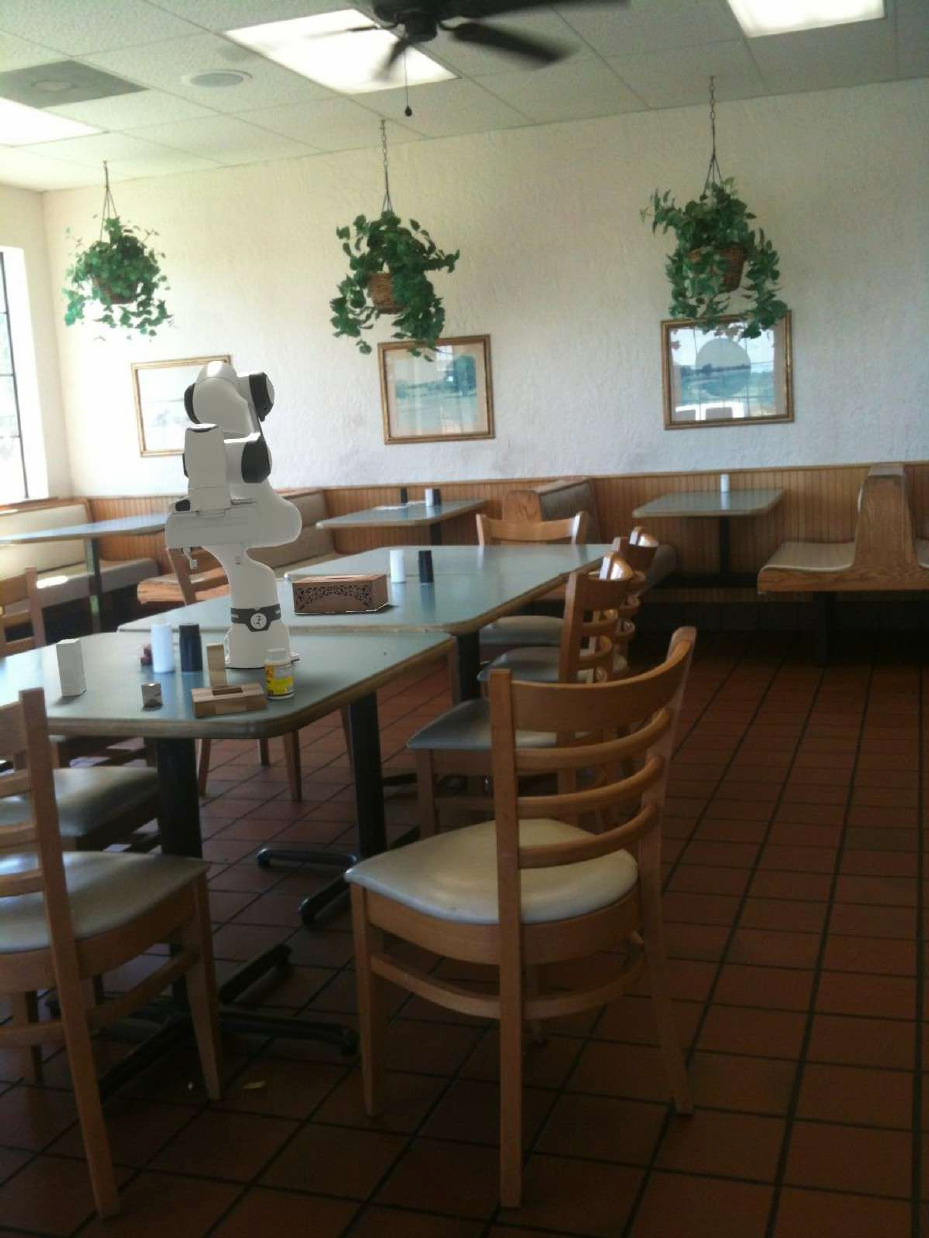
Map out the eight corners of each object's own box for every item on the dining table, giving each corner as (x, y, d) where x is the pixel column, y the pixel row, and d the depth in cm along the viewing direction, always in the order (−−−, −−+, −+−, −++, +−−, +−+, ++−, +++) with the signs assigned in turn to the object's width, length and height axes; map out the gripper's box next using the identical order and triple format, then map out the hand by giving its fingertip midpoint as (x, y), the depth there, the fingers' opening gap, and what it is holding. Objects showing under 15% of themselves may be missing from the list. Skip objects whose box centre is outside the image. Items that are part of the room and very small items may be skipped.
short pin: (143, 704, 266) (141, 683, 265) (162, 702, 267) (160, 681, 266) (143, 708, 262) (141, 687, 261) (163, 705, 263) (160, 684, 262)
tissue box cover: (388, 605, 394) (386, 573, 392) (374, 612, 380) (372, 579, 378) (311, 608, 400) (308, 576, 398) (294, 615, 386) (292, 582, 384)
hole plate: (192, 703, 263) (191, 689, 263) (259, 695, 267) (258, 681, 266) (195, 716, 250) (194, 702, 249) (266, 708, 253) (265, 693, 253)
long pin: (210, 694, 272) (205, 644, 270) (227, 692, 273) (222, 642, 271) (211, 697, 268) (206, 646, 267) (228, 695, 269) (223, 644, 268)
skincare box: (67, 691, 286) (61, 639, 284) (86, 689, 286) (80, 638, 285) (61, 696, 280) (54, 644, 278) (80, 695, 280) (74, 642, 279)
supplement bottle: (266, 696, 266) (262, 648, 264) (293, 693, 267) (289, 646, 265) (268, 701, 260) (263, 652, 259) (295, 698, 261) (290, 650, 260)
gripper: (258, 497, 271) (264, 561, 273) (161, 504, 266) (167, 569, 267) (261, 497, 265) (267, 563, 267) (161, 505, 260) (168, 571, 261)
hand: (216, 566), depth 267 cm, fingers open, 8 cm apart
